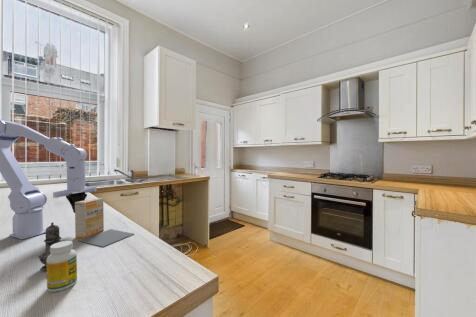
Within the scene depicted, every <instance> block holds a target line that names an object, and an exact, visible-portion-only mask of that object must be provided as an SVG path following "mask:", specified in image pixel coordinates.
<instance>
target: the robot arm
mask: <svg viewBox="0 0 476 317" xmlns="http://www.w3.org/2000/svg"><path fill="white" fill-rule="evenodd" d="M20 137H23V138H25V139H27V140H30V141H33V142H36V143H37V144H39V145H42V146H44V149H45V150H46V151H48V152H49V153H53V154H55V155H57V156H58V157H61V158H62V159H63V160H64V161H65V163H66V164H65V165H66V189H64V190H58V191H53V192H52V196H53V198H56V199H57V198H61V197H62V198H63V197H65V199H66V200H67V201H68V203H69V204H70V206H71V208H72V211H73V213H74V214H75V202H79V201H84V200H86V199H87V196H88V193H93V192H97V189H98V188H97V186H88V187H87V186H86V165H85V164H86V159H88V152H87V151H86V149H84V148H83V147H76V145H75V144H74V143H69V142H67V141H65V140H64V138H62V137H58V136H57V137H55V136H54V137H53V136H52V137H49V136H46V135H45V134H43V133H41V132H39V131H38V130H35V129H33V128H31V127H29V126H27V125H25V124H23V123H22V124H21V123H19V122H17V121H10V120H9V121H8V120H4V119H0V175H1V177H2V178H3V179H4V180H5V182H6V184H7V186H8V187H9V189H10V193H9V195H8V196H7V198H8V201H9V207H10V209H11V211H13V212H14V214H13V216H12V233H9V236H10V237H13V238H16V239H20V240H25V239H29V238H33V237H35V236H39V235H43V234H46V229H44V206H45V205H46V204H47V202H48V197H47V195H46V194H45V193H44V192H42V191H41V190H40V189H39V187H37V186H36V185H33V184H31V182H30V180H29V178H28V177H27V175H26V174H25V172H24V170H23V169H22V167H21V165H20V163H19V162H18V161H17V159H16V157H15V155H14V154H13V152H12V150H11V149H10V147H11V146H12V145H13V144H14V143H15V142H16V141H17V140H18V139H20Z"/></svg>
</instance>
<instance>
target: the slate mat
mask: <svg viewBox="0 0 476 317" xmlns="http://www.w3.org/2000/svg"><path fill="white" fill-rule="evenodd" d="M134 235H135V233H134V232H133V233H132V232H127V231H123V230H122V231H121V230H117V229H112V228H109V229H107V230H105V231H101V232H99V233H96V234H94V235H92V236H89V237H87V238H80V239H78V240H77V241H78V242H79V243H80V242H81V243H84V244H88V245H92V246H96V247H100V248H105V247H108V246H110V245H112V244H114V243H118V242H119V241H123V240H124V239H127V238H130V237H131V236H134Z"/></svg>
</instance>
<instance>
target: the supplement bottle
mask: <svg viewBox="0 0 476 317" xmlns="http://www.w3.org/2000/svg"><path fill="white" fill-rule="evenodd" d="M73 247H74V244H73V241H72V240H63V241H60V242H58V243H55V244H53V245H51V246H50V253H51V254H50V255H49V256H48V258H47V260H46V266H47V272H46V289H47V291H48V292H51V293H56V292H57V291H58V292H61V291H65V290H67V289H69V288H71V287H72V286H74V285H75V284H76V283H77V281H78V267H77V266H78V265H77V263H78V262H77V260H78V259H77V251H76V250H75V249H73Z"/></svg>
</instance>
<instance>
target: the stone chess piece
mask: <svg viewBox="0 0 476 317" xmlns="http://www.w3.org/2000/svg"><path fill="white" fill-rule="evenodd" d="M45 230H46V233H45V239H44V240H43V242H44V243H45V248H44V252H42V253H40V254H39V255H38V256H37V257H38V259H39V261H40V263H41V264H42V266H41V268H40V269H39V271H40V272H42V273H44V272H45V273H47V266H46V260H47V258H48V256H49V255H50V254H51V253H50V246H51V245H53V244H55V243H58V242H61V240H62V237H61V236H60V226H59V225H56V224H54V222H51V223H50V226H48V227H46V229H45Z"/></svg>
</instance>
